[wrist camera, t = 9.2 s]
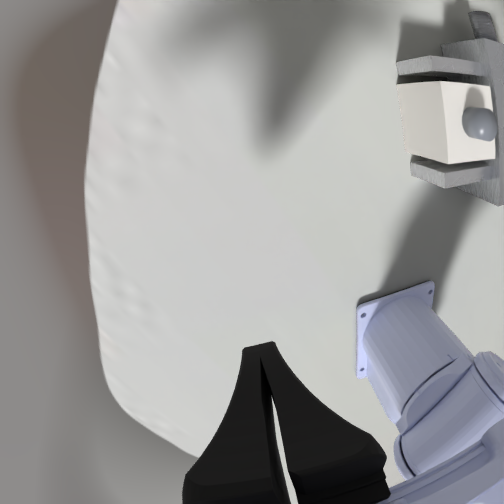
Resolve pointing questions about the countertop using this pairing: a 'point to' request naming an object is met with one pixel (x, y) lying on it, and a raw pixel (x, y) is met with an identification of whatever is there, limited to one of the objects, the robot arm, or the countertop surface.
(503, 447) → the robot arm
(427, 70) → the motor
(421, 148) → the white block
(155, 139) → the countertop surface
